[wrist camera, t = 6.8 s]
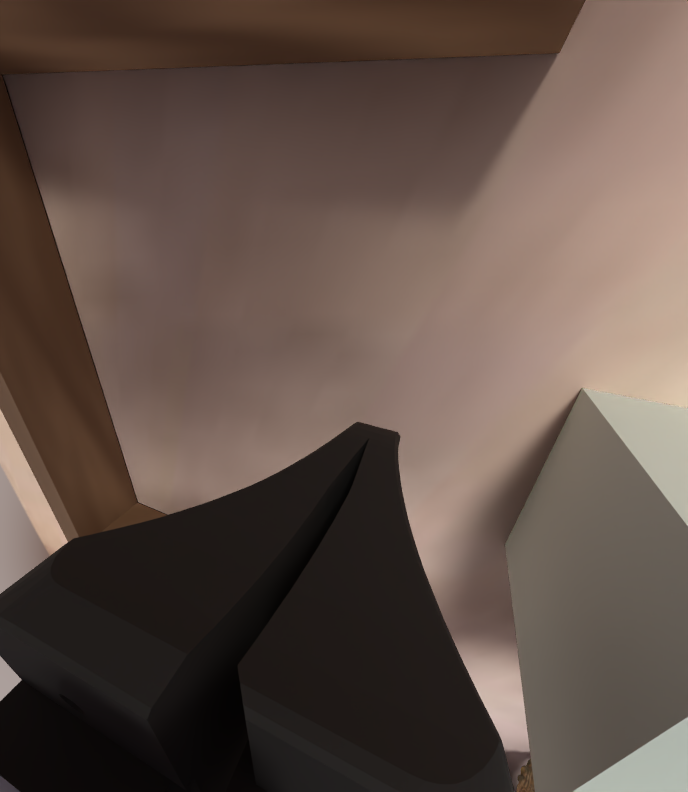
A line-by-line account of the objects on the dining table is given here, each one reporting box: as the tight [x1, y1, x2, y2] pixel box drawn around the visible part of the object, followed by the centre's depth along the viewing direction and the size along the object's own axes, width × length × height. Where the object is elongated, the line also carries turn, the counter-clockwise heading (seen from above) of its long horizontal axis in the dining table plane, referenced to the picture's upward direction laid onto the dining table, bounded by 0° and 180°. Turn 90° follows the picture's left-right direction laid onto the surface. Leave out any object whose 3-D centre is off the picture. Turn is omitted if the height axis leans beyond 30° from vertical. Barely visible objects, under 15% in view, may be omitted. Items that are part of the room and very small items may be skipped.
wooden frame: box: [0, 0, 585, 542], centre depth 11 cm, size 16×20×3 cm
